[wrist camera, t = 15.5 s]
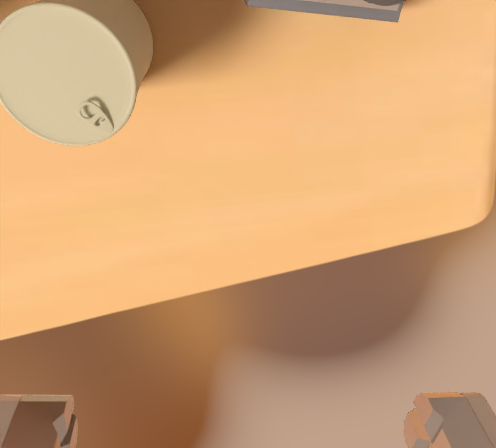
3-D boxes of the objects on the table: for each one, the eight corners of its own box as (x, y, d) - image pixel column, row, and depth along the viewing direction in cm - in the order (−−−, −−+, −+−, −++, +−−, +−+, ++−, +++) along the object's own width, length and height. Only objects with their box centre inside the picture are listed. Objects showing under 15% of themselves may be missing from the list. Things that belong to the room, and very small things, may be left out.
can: (98, 114, 42) (66, 174, 32) (16, 28, 37) (-51, 66, 28) (175, 53, 40) (166, 98, 30) (98, -47, 35) (56, -34, 25)
